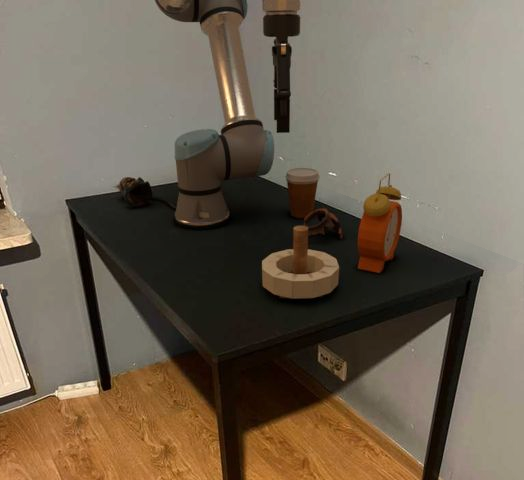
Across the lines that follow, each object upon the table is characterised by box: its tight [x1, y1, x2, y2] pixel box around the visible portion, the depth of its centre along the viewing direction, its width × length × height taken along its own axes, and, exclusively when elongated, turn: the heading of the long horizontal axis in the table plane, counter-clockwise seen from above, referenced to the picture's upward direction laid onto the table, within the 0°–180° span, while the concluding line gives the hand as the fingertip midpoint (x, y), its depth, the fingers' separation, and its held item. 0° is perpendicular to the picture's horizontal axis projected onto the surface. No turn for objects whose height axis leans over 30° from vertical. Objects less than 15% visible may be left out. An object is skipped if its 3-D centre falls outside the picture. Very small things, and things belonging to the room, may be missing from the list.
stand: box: [279, 225, 324, 299], centre depth 114 cm, size 9×9×14 cm
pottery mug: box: [302, 207, 343, 240], centre depth 142 cm, size 12×10×8 cm
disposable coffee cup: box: [284, 167, 321, 219], centre depth 154 cm, size 10×10×12 cm
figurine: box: [117, 176, 153, 209], centre depth 167 cm, size 9×8×15 cm
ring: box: [261, 248, 340, 300], centre depth 117 cm, size 16×16×4 cm
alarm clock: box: [357, 173, 403, 274], centre depth 123 cm, size 13×6×20 cm, turn 151°
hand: (281, 126), depth 121 cm, fingers open, 13 cm apart
